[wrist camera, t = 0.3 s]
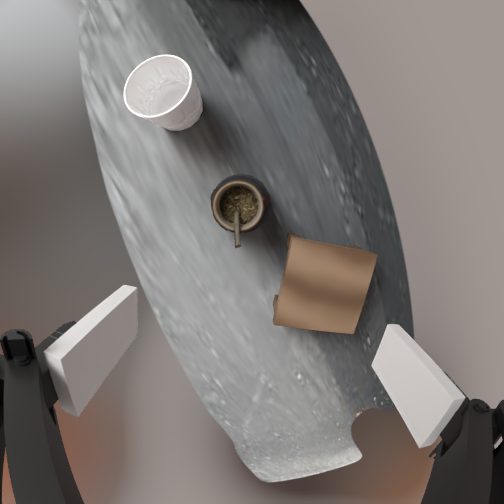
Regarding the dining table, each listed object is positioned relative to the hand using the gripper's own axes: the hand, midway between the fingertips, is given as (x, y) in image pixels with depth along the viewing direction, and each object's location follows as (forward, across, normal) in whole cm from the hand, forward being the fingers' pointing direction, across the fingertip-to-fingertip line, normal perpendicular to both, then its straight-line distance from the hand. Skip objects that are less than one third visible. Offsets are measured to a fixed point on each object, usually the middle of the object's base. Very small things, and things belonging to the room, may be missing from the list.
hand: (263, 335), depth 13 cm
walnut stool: (+25, +9, -3) cm, 27 cm away
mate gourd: (+25, -3, +5) cm, 26 cm away
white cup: (+25, -14, +17) cm, 33 cm away
